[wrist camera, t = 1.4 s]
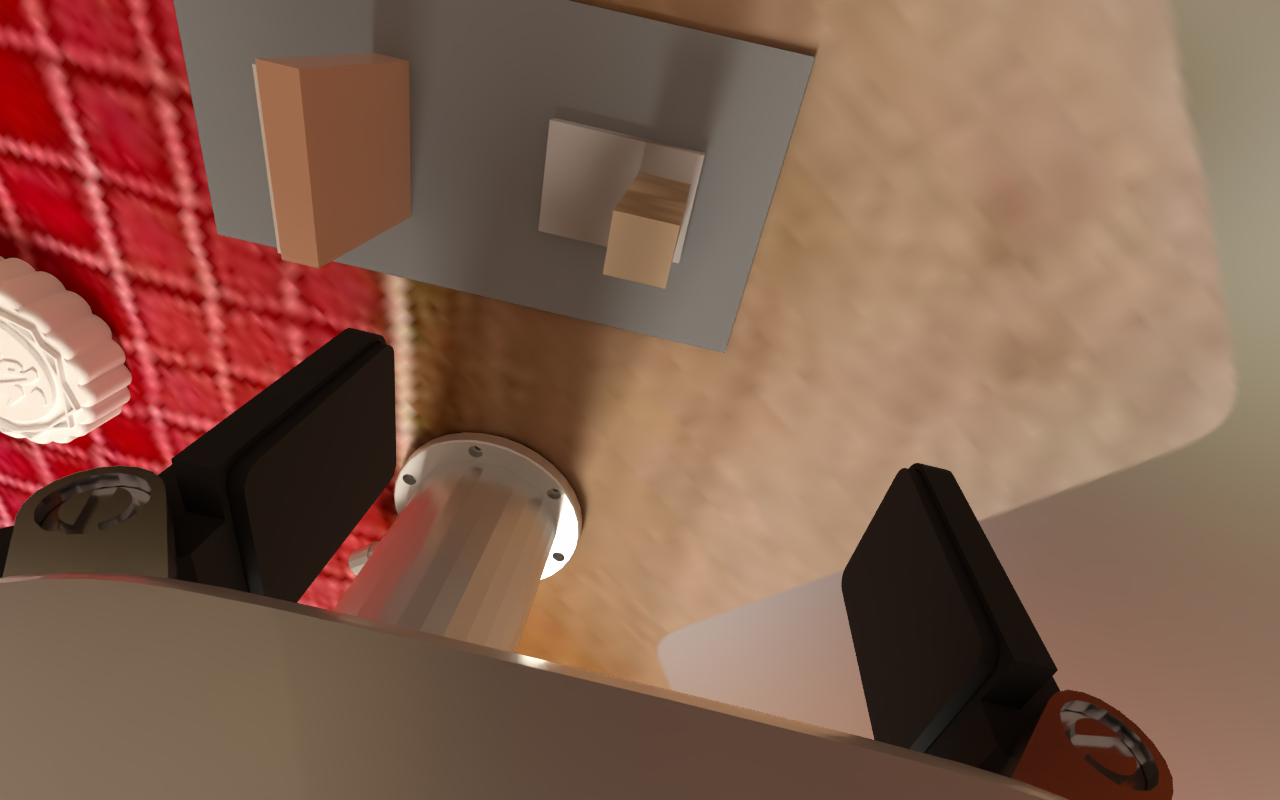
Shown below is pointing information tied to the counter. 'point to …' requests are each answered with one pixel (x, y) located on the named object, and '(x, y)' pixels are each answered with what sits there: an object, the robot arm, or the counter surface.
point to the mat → (518, 141)
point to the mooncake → (54, 359)
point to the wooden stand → (620, 197)
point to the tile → (334, 150)
